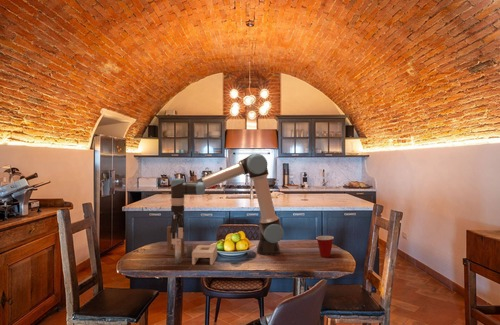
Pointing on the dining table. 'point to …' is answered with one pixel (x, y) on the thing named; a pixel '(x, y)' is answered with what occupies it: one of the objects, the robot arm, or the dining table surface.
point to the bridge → (204, 253)
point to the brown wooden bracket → (170, 248)
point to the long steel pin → (178, 251)
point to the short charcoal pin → (189, 250)
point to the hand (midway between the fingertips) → (177, 241)
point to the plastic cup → (325, 245)
